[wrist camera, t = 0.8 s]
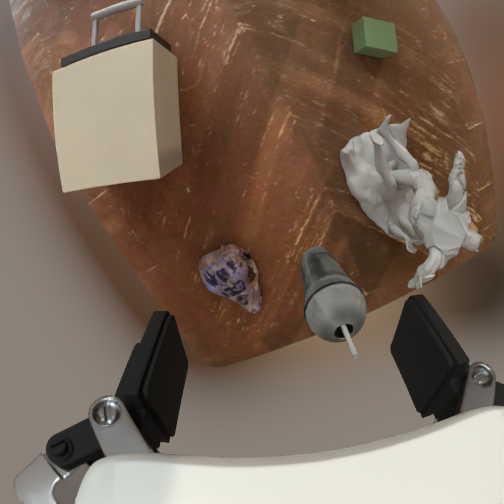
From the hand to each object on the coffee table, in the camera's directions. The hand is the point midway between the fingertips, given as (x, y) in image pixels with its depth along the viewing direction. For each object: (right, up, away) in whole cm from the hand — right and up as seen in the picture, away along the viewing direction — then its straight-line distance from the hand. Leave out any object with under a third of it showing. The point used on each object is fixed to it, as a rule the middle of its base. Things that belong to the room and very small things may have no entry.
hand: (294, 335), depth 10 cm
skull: (-4, 0, +31) cm, 31 cm away
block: (+14, +31, +16) cm, 37 cm away
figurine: (+17, +13, +25) cm, 33 cm away
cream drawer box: (-17, +21, +20) cm, 34 cm away
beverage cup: (+8, +2, +30) cm, 31 cm away
